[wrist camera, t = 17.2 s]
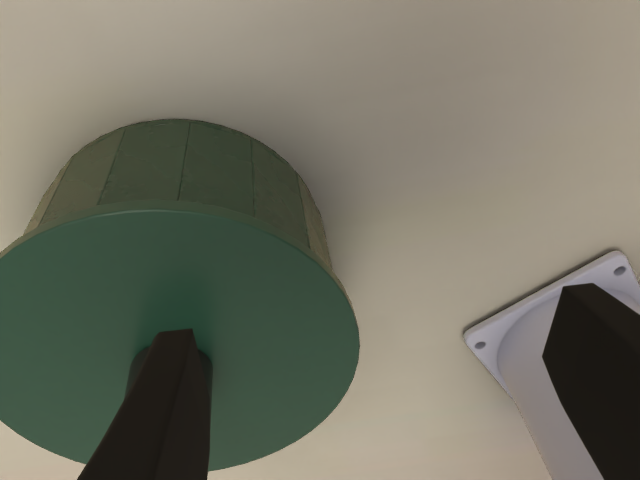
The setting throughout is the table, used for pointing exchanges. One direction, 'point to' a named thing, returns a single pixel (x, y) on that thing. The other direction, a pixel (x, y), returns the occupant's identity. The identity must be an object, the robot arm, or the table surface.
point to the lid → (170, 324)
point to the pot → (187, 176)
